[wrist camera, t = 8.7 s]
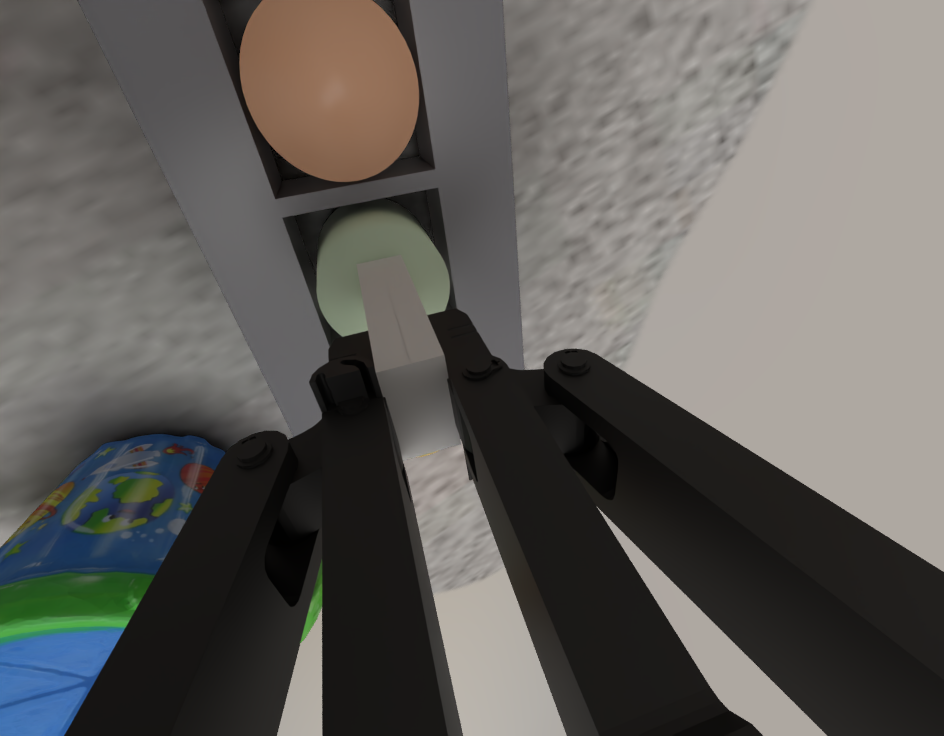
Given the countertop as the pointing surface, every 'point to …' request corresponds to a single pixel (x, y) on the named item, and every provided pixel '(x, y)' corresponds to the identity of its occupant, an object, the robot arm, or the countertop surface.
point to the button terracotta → (330, 85)
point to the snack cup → (92, 572)
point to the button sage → (367, 239)
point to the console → (276, 202)
